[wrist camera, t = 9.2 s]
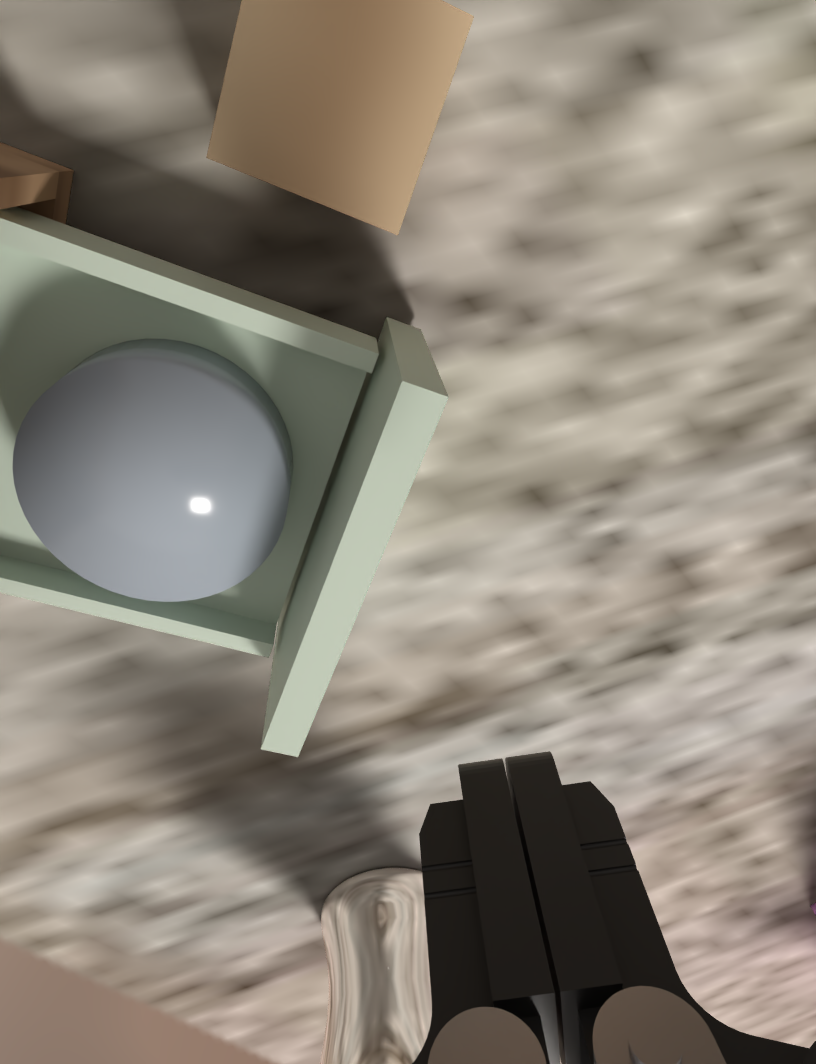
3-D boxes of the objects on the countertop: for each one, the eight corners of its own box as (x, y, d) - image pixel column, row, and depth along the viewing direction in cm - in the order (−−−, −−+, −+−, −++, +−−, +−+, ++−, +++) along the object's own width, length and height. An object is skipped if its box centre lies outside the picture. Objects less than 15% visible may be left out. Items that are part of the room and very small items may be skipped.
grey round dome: (63, 300, 17) (30, 318, 15) (323, 387, 18) (320, 413, 16) (30, 526, 19) (-2, 564, 18) (259, 586, 21) (250, 627, 19)
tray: (420, 329, 19) (448, 397, 14) (307, 624, 24) (298, 757, 19) (-69, 146, 16) (-257, 147, 11) (-95, 521, 21) (-238, 644, 16)
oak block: (446, 42, 17) (474, 16, 13) (387, 217, 18) (397, 235, 15) (280, -38, 16) (261, -90, 12) (233, 154, 17) (205, 157, 14)
